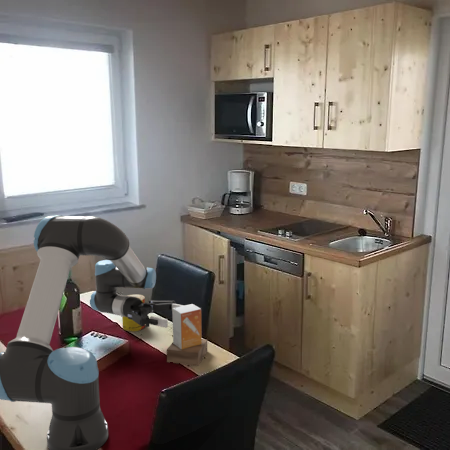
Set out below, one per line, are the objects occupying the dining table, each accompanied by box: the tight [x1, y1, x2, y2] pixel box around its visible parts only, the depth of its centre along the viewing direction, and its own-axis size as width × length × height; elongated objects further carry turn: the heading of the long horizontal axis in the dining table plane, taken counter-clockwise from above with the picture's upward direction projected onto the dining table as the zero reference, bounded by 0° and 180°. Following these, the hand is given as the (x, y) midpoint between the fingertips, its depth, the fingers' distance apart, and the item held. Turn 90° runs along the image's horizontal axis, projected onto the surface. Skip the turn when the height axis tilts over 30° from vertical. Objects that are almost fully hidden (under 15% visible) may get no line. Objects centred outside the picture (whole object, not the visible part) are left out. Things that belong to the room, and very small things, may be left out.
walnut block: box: [166, 338, 208, 367], centre depth 178 cm, size 11×11×5 cm
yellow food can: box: [121, 293, 147, 332], centre depth 203 cm, size 9×9×12 cm
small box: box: [171, 303, 203, 349], centre depth 177 cm, size 8×6×13 cm
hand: (177, 316), depth 178 cm, fingers open, 13 cm apart
